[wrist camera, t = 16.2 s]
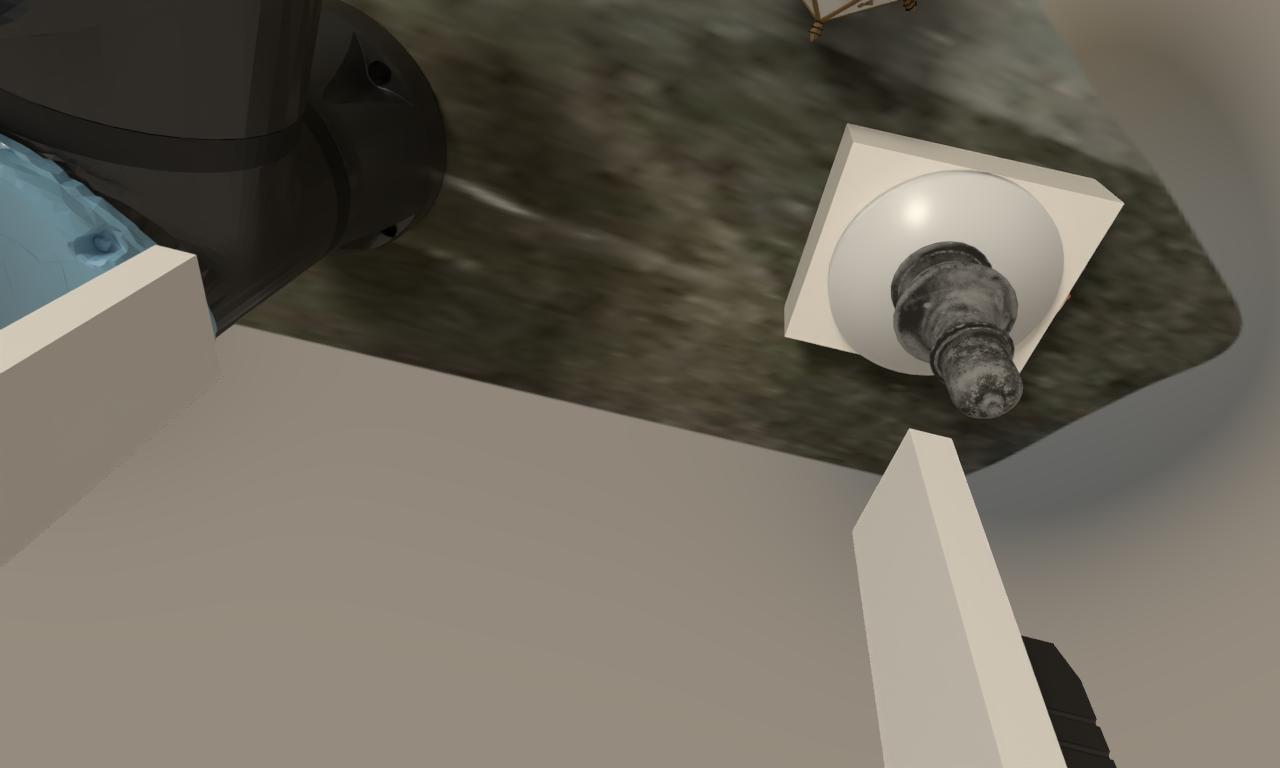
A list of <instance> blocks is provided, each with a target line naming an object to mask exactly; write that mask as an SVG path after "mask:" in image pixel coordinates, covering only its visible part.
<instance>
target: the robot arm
mask: <svg viewBox="0 0 1280 768" xmlns="http://www.w3.org/2000/svg"><path fill="white" fill-rule="evenodd" d="M445 165H446V143H445V134H444V128H443V124H442V119H441V116H440V112H439V109H438V106H437V103H436V101H435V98H434V96H433V94H432V91H431V89H430V87H429V85H428V83H427V81H426V79H425V77H424V76H423V74H422V72H421V71H420V69H419V68H418V66H417V65H416V63H415V62H414V60H413V59H412V58H411V56H410V55H409V54H408V52H407V51H406V50H405V49H404V48H403V46H402V45H401V44H400V43H399V42H398V41H397V40H396V39H395V38H394V37H393V36H392V35H391V34H390V33H389V32H388V31H387V30H386V29H385V28H384V27H382V26H381V25H380V24H379V23H377V22H376V21H375V20H373V19H372V18H371V17H369V16H368V15H366V14H365V13H363V12H361V11H360V10H358V9H356V8H354V7H353V6H351V5H349V4H346V3H344V2H342V1H340V0H0V569H1V568H2V567H3V566H4V565H5V564H6V563H8V562H9V561H10V560H11V559H12V558H13V557H15V556H16V555H17V554H18V553H19V552H20V551H21V550H23V549H24V548H25V547H26V546H27V545H29V544H30V543H31V542H32V541H33V540H34V539H35V538H37V537H38V536H39V535H40V534H41V533H42V532H44V531H45V530H46V529H47V528H48V527H49V526H51V525H52V524H53V523H54V522H55V521H56V520H57V519H59V518H60V517H61V516H62V515H63V514H64V513H66V512H67V511H68V510H69V509H70V508H71V507H73V506H74V505H75V504H76V503H77V502H78V501H80V500H81V499H82V498H83V497H84V496H85V495H86V494H88V493H89V492H90V491H91V490H92V489H94V488H95V487H96V486H97V485H98V484H99V483H101V482H102V481H103V480H104V479H105V478H106V477H108V475H110V474H111V473H112V472H113V471H114V470H116V469H117V468H118V467H119V466H120V465H121V464H123V463H124V462H125V461H126V460H127V459H128V458H130V457H131V456H132V455H133V454H134V453H135V452H137V451H138V450H139V449H140V448H141V447H142V446H143V445H145V444H146V443H147V442H148V441H149V440H150V439H152V438H153V437H154V436H155V435H156V434H157V433H158V432H160V431H161V430H162V429H163V428H164V427H165V426H167V425H168V424H169V423H170V422H171V421H173V420H174V419H175V418H176V417H177V416H178V415H180V414H181V413H182V412H183V411H184V410H185V409H186V408H188V407H189V406H190V405H191V404H192V403H193V402H195V401H196V400H197V399H198V398H199V397H200V396H202V395H203V394H204V393H205V392H206V391H207V390H209V389H210V388H211V387H212V386H213V385H214V384H215V383H217V382H218V381H219V380H220V379H221V378H222V377H223V373H222V369H221V364H220V360H219V355H218V351H217V346H216V341H215V340H216V338H217V337H218V336H219V335H220V334H222V333H223V332H225V331H226V330H227V329H228V328H230V327H231V326H232V325H234V324H235V323H236V322H238V321H239V320H240V319H242V318H243V317H244V316H246V315H247V314H248V313H250V312H251V311H252V310H254V309H255V308H256V307H258V306H259V305H260V304H262V303H263V302H264V301H266V300H267V299H268V298H270V297H271V296H272V295H274V294H275V293H276V292H278V291H279V290H280V289H282V288H283V287H284V286H286V285H287V284H288V283H290V282H291V281H292V280H294V279H295V278H296V277H298V276H299V275H300V274H302V273H303V272H304V271H306V270H307V269H308V268H310V267H311V266H312V265H314V264H315V263H316V262H318V261H319V260H320V259H322V258H323V257H326V256H333V255H339V254H345V253H351V252H358V251H364V250H370V249H373V248H377V247H380V246H383V245H385V244H387V243H389V242H391V241H393V240H395V239H397V238H398V237H400V236H401V235H403V234H404V233H405V232H407V231H408V230H409V229H410V228H411V227H413V226H414V225H415V224H416V223H417V222H419V221H420V220H421V219H422V218H423V217H424V216H425V214H426V213H427V212H428V211H429V209H430V208H431V207H432V205H433V203H434V202H435V200H436V198H437V196H438V193H439V191H440V188H441V185H442V182H443V178H444V172H445ZM852 533H853V541H854V548H855V555H856V562H857V570H858V577H859V584H860V591H861V598H862V606H863V613H864V620H865V627H866V634H867V642H868V649H869V656H870V663H871V671H872V678H873V685H874V692H875V699H876V707H877V713H878V721H879V728H880V735H881V742H882V750H883V757H884V764H885V768H1116V765H1115V763H1114V761H1113V760H1111V759H1110V758H1109V752H1110V751H1109V748H1108V746H1107V743H1106V741H1105V738H1104V736H1103V733H1102V731H1101V729H1100V727H1098V726H1096V716H1095V714H1094V711H1093V709H1092V707H1091V704H1090V702H1089V699H1088V697H1087V694H1086V692H1085V689H1084V687H1083V685H1082V682H1081V680H1080V679H1079V677H1078V676H1077V675H1076V673H1075V672H1074V671H1073V669H1072V668H1071V667H1070V666H1069V664H1068V663H1067V662H1066V660H1065V659H1064V658H1063V656H1062V655H1061V654H1060V652H1059V651H1058V649H1057V648H1056V647H1055V646H1054V644H1053V643H1049V642H1045V641H1041V640H1037V639H1033V638H1029V637H1025V636H1021V635H1020V632H1019V629H1018V626H1017V623H1016V621H1015V618H1014V615H1013V612H1012V609H1011V607H1010V604H1009V601H1008V598H1007V595H1006V592H1005V589H1004V586H1003V583H1002V581H1001V578H1000V575H999V572H998V569H997V567H996V564H995V561H994V558H993V555H992V552H991V549H990V546H989V544H988V541H987V538H986V535H985V532H984V530H983V527H982V524H981V521H980V518H979V515H978V512H977V509H976V507H975V504H974V501H973V498H972V495H971V492H970V490H969V487H968V484H967V481H966V478H965V475H964V472H963V470H962V467H961V464H960V461H959V458H958V455H957V452H956V450H955V447H954V444H953V441H952V439H951V438H947V437H943V436H938V435H934V434H930V433H926V432H922V431H918V430H914V429H910V428H909V430H908V432H907V434H906V435H905V437H904V439H903V441H902V443H901V444H900V446H899V448H898V450H897V452H896V453H895V455H894V457H893V459H892V461H891V462H890V464H889V466H888V468H887V470H886V471H885V473H884V475H883V477H882V479H881V481H880V482H879V484H878V486H877V488H876V489H875V491H874V493H873V495H872V497H871V498H870V500H869V502H868V504H867V506H866V507H865V509H864V511H863V513H862V515H861V516H860V518H859V520H858V522H857V524H856V525H855V527H854V529H853V531H852Z"/></svg>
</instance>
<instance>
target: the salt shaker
mask: <svg viewBox="0 0 1280 768" xmlns="http://www.w3.org/2000/svg"><path fill="white" fill-rule="evenodd" d="M891 299H892V302H893V305H894V308H895V312H894V315H893V328H894V331H895V334H896V337H897V340H898V342H899V343H900V344H901V346H902V347H903V348H904V350H905V351H906V352H908V353H909V354H911V355H912V356H913V357H915V358H916V359H918V360H921V361H924V362H926V363H929V364H930V367H931V370H932V372H933V374H934V375H935V376H936V378H937V379H939V380H940V381H941V382H943V383H944V384H946V386H947V389H948V392H949V395H950V398H951V400H952V403H953V404H954V405H955V407H956V408H957V409H958V410H959V411H960V412H961V413H963V414H964V415H967V416H969V417H972V418H979V419H989V418H994V417H998V416H1001V415H1003V414H1005V413H1007V412H1008V411H1009V410H1011V409H1012V408H1013V407H1014V406H1015V405H1016V404H1017V403H1018V402H1019V400H1020V398H1021V396H1022V392H1023V382H1022V378H1021V376H1020V374H1019V372H1018V370H1017V368H1016V366H1015V364H1014V362H1013V358H1014V351H1015V347H1014V343H1013V340H1012V338H1011V337H1010V335H1009V333H1010V332H1011V330H1012V328H1013V326H1014V323H1015V321H1016V319H1017V311H1018V301H1017V297H1016V293H1015V290H1014V289H1013V287H1012V286H1011V284H1010V283H1009V281H1008V280H1007V278H1005V277H1004V276H1003V275H1001V274H1000V273H999V272H998V271H996V270H994V269H992V266H991V264H990V262H989V261H988V259H987V258H986V256H985V255H984V254H983V253H982V252H980V251H979V250H978V249H977V248H975V247H973V246H970V245H968V244H965V243H962V242H954V241H946V242H937V243H933V244H930V245H928V246H925V247H922V248H920V249H919V250H917V251H915V252H914V253H912V254H911V255H909V256H908V257H907V258H906V259H905V260H904V261H903V262H902V263H901V264H900V266H899V268H898V269H897V271H896V272H895V274H894V277H893V280H892V283H891Z"/></svg>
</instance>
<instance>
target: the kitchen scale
mask: <svg viewBox="0 0 1280 768" xmlns="http://www.w3.org/2000/svg"><path fill="white" fill-rule="evenodd" d="M1123 205H1124V203H1123V202H1122V201H1121V200H1119V199H1118V198H1117V197H1116V196H1115V195H1113V194H1112V193H1111V192H1110V191H1109V190H1107V189H1106V188H1105V187H1104V186H1102V185H1101V184H1100V183H1099V182H1098V181H1096V180H1095V179H1092V178H1088V177H1084V176H1079V175H1075V174H1070V173H1066V172H1061V171H1057V170H1053V169H1048V168H1044V167H1039V166H1035V165H1030V164H1026V163H1022V162H1017V161H1013V160H1008V159H1004V158H999V157H995V156H991V155H986V154H982V153H977V152H973V151H968V150H964V149H960V148H955V147H951V146H946V145H942V144H937V143H933V142H929V141H924V140H920V139H915V138H911V137H906V136H902V135H898V134H893V133H889V132H884V131H880V130H875V129H871V128H867V127H862V126H858V125H853V124H849V123H847V125H846V128H845V131H844V134H843V137H842V139H841V142H840V145H839V148H838V151H837V154H836V157H835V160H834V163H833V166H832V169H831V172H830V175H829V178H828V180H827V183H826V186H825V189H824V192H823V195H822V198H821V201H820V204H819V207H818V210H817V213H816V216H815V219H814V221H813V224H812V227H811V230H810V233H809V236H808V239H807V242H806V245H805V248H804V251H803V254H802V257H801V259H800V262H799V265H798V268H797V271H796V274H795V277H794V280H793V283H792V286H791V289H790V292H789V295H788V298H787V300H786V303H785V306H784V316H785V337H789V338H793V339H797V340H801V341H805V342H809V343H814V344H818V345H822V346H826V347H830V348H835V349H839V350H843V351H847V352H851V353H855V354H860V355H862V356H863V357H865V358H866V359H868V360H870V361H871V362H873V363H875V364H877V365H880V366H882V367H884V368H887V369H890V370H893V371H897V372H901V373H906V374H912V375H934V374H933V372H932V370H931V367H930V364H929V363H926V362H924V361H921V360H918V359H916V358H915V357H913V356H912V355H911V354H909V353H908V352H906V351H905V350H904V348H903V347H902V346H901V344H900V343H899V342H898V340H897V337H896V334H895V331H894V328H893V315H894V312H895V308H894V305H893V302H892V299H891V283H892V280H893V277H894V274H895V272H896V271H897V269H898V268H899V266H900V264H901V263H902V262H903V261H904V260H905V259H906V258H907V257H908V256H909V255H911V254H912V253H914V252H915V251H917V250H919V249H920V248H922V247H925V246H928V245H930V244H933V243H937V242H946V241H954V242H962V243H965V244H968V245H970V246H973V247H975V248H977V249H978V250H979V251H980V252H982V253H983V254H984V255H985V256H986V258H987V259H988V261H989V262H990V264H991V266H992V269H994V270H996V271H998V272H999V273H1000V274H1001V275H1003V276H1004V277H1005V278H1007V280H1008V281H1009V283H1010V284H1011V286H1012V287H1013V289H1014V290H1015V293H1016V297H1017V301H1018V311H1017V319H1016V321H1015V323H1014V326H1013V328H1012V330H1011V332H1010V333H1009V335H1010V337H1011V338H1012V340H1013V343H1014V347H1015V351H1014V358H1013V362H1014V364H1015V366H1016V368H1017V370H1018V372H1019V373H1020V372H1021V370H1022V369H1023V367H1024V365H1025V364H1026V362H1027V360H1028V359H1029V357H1030V356H1031V354H1032V352H1033V351H1034V349H1035V347H1036V346H1037V344H1038V343H1039V341H1040V339H1041V338H1042V336H1043V334H1044V333H1045V331H1046V330H1047V328H1048V326H1049V325H1050V323H1051V321H1052V320H1053V318H1054V317H1055V315H1056V313H1057V312H1058V311H1059V310H1060V309H1061V308H1062V306H1063V305H1064V303H1065V301H1066V300H1067V299H1068V300H1069V298H1070V294H1069V293H1070V291H1071V289H1072V287H1073V286H1074V284H1075V283H1076V281H1077V279H1078V278H1079V276H1080V274H1081V273H1082V271H1083V270H1084V268H1085V266H1086V265H1087V263H1088V261H1089V260H1090V258H1091V257H1092V255H1093V253H1094V252H1095V250H1096V248H1097V247H1098V245H1099V244H1100V242H1101V240H1102V239H1103V237H1104V235H1105V234H1106V232H1107V231H1108V229H1109V227H1110V226H1111V224H1112V222H1113V221H1114V219H1115V218H1116V216H1117V214H1118V213H1119V211H1120V209H1121V208H1122V206H1123Z"/></svg>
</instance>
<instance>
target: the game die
mask: <svg viewBox="0 0 1280 768" xmlns="http://www.w3.org/2000/svg"><path fill="white" fill-rule="evenodd" d="M802 1H803V2H804V3H805V5H806V6H807V8H808V9H809V11H810V12H811V14H812V15H813V16H814V18H815V19H816V22H815V23H814V25H813V26H811V27H812V29H811V31H809V32H810V37H811V42H813V41H814V40H815V39H816V38H817V37H818V36H821V35H820V32H821V31H822V30H823V29H822V24H823V22H827V21H830V20H834V19H838V18H841V17H845V16H848V15H852V14H855V13H859V12H863V11H866V10H870V9H873V8H877V7H880V6H884V5H888V4H891V3H895V2H898V1H902V0H802ZM903 2H904V5H903V6H904V7H905V8H906V11H911V12H914V13H916V5H917V1H915V0H903Z"/></svg>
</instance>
